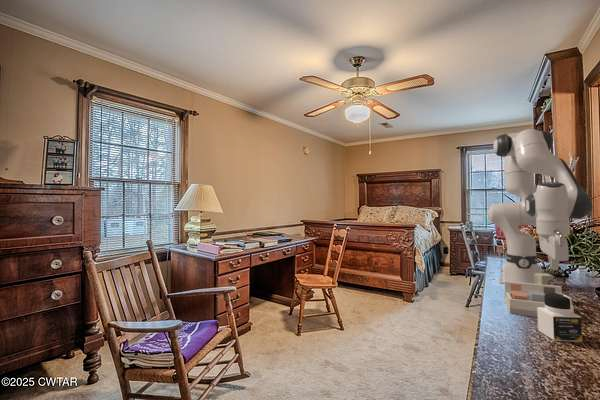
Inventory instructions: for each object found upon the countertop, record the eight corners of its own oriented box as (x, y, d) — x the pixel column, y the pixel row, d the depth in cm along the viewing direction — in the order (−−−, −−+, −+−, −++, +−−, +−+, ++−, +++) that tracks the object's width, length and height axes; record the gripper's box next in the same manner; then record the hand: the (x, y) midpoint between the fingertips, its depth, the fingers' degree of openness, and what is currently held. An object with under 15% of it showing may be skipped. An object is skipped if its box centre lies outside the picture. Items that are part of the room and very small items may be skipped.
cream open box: (505, 301, 116) (504, 281, 117) (561, 308, 108) (560, 286, 108) (510, 313, 104) (509, 290, 104) (574, 321, 95) (573, 296, 96)
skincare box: (555, 302, 115) (554, 275, 115) (542, 301, 116) (541, 275, 116) (547, 297, 120) (546, 273, 120) (534, 297, 121) (533, 272, 121)
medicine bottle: (554, 341, 83) (552, 298, 83) (537, 330, 90) (536, 290, 90) (583, 342, 82) (581, 298, 82) (563, 331, 89) (562, 291, 89)
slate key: (529, 297, 107) (528, 290, 107) (542, 298, 105) (542, 291, 105) (531, 301, 103) (531, 294, 103) (545, 302, 101) (545, 295, 101)
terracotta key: (512, 298, 109) (512, 291, 109) (525, 299, 108) (524, 292, 108) (514, 302, 105) (514, 295, 105) (527, 303, 103) (527, 296, 103)
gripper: (574, 232, 91) (576, 277, 91) (556, 226, 109) (557, 263, 109) (548, 232, 95) (549, 275, 95) (535, 226, 112) (536, 262, 112)
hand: (554, 269), depth 102 cm, fingers closed
